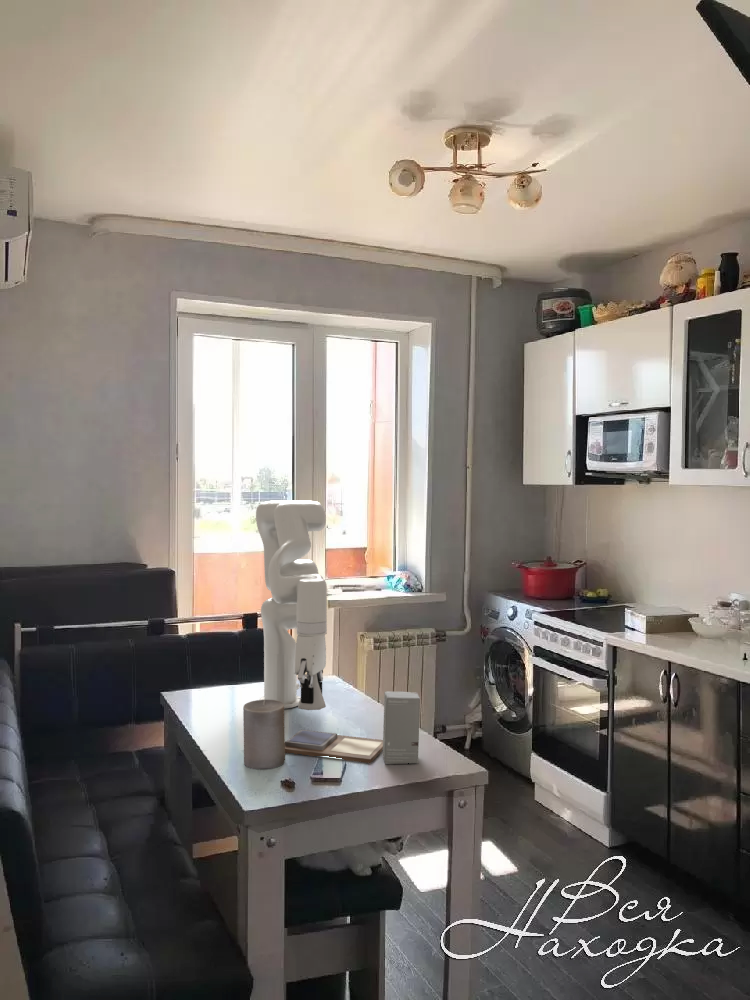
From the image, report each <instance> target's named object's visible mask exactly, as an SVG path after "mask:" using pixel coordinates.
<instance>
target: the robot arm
mask: <svg viewBox="0 0 750 1000" xmlns="http://www.w3.org/2000/svg"><path fill="white" fill-rule="evenodd" d="M326 521H327V517H326V512H325V509H324V507H323V505H322V504H321V503H320V502H319V501H314V500H270V501H269V500H268V501H264V502H261V503H259V504H258V506H257V507H256V510H255V523H256V527H257V531H258V533H259V536H260V538H261V541H262V546H263V559H264V560H263V561H264V562H263V564H264V582H265V587H266V588H267V590H268V591H270V594H271V598H266V600H264V602H262V604H261V607H260V617H261V622H262V629H263V630H262V631H263V652H264V653H263V656H264V657H263V663H264V664H263V667H264V668H263V680H264V682H263V685H264V687H263V688H264V689H263V694H264V695H263V696H262V697H259V699H258V700H276V701H280V702H282V703H283V704H284V710H285V709H291V708H296V707H298V704H299V701H300V698H301V703H307V704H313V702H314V687H312V683H313V675H315V674H316V673H317V679H318V684H319V687H320V690H321V693H322V694H323V679H324V677H323V673H324V669H326V665H327V648H326V647H327V645H326V643H327V642H326V635H327V633H328V632H327V630H328V629H327V627H328V626H327V625H328V624H327V623H328V622H327V620H328V619H327V618H328V615H327V613H328V612H327V610H328V603H327V600H328V599H327V598H328V597H327V596H328V594H327V592H328V591H327V590H328V589H327V585H328V583H327V582H326V580H325V579H324V577H323V576H322V575H320V574H319V569H318V566H317V564H316V562H315V561H313V560H311V559H306V558H305V559H302V558H304V557H305V556H306V555H308V553H310V550H311V549H312V548H311V547H312V543H311V538H310V535H309V532H320V531H321V532H322V530H323V529H324V528H325V526H326ZM293 629H294V630H295V629H296V635H297V636H296V640H295V639H294V637H293V636H292V635H291V634H290V633H289V630H293ZM307 672H309V675H307ZM306 677H309V681H308V679H306ZM297 680H298V681H299V683H298V682H297ZM299 689H300V696H299V695H297V693H298V692H297V690H299Z"/></svg>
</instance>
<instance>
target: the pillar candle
mask: <svg viewBox="0 0 750 1000" xmlns="http://www.w3.org/2000/svg"><path fill="white" fill-rule="evenodd" d="M242 713H243V714H242V715H243V763H244V765H246V766H245V767H246V768H249V767H250V768H249V769H253V770H268V769H275V768H278V767H280V765H281V766H282V765H284V763H285V761H286V753H285V741H286V739H285V738H286V737H285V733H286V731H285V728H286V727H285V709H284V704H283V703H282V702H280V701H276V700H259V699H257V700H251V701H249V702H247V703H245V704H243V711H242Z"/></svg>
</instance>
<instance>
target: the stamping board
mask: <svg viewBox="0 0 750 1000" xmlns="http://www.w3.org/2000/svg"><path fill="white" fill-rule="evenodd" d="M382 750H383V739H377V738H369V737H360V736H352V735H343V734H338V733H335V732H334V733H333V732H326V731H316V730H308V729H307V730H306V729H300V730H299V731H297V732H295V734H293V735H292V736H291V737H289V738H288V739H286V740H285V754H290V753H294V754H293V755H298V754H302V755H301V756H306V755H309V756H308V757H314V756H329V757H336V758H342V759H344V760H343V761H347V762H354V763H355V762H356V763H364V764H372V762H374V761H375V759H376V758H377V757H378V756H379V755H380V754H381V753H383V751H382Z"/></svg>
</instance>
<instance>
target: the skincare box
mask: <svg viewBox="0 0 750 1000" xmlns="http://www.w3.org/2000/svg"><path fill="white" fill-rule="evenodd" d="M383 694H384V695H383V696H384V697H383V699H384V700H383V701H384V703H383V704H384V705H383V731H382V732H383V733H382V740H383V751H382V757H383V761H384V763H385V765H401V764H404V765H405V764H407V765H409V764H419V749H420V748H419V745H420V744H419V742H420V713H421V712H420V708H421V703H420V702H421V698H420V695H419V693H418V692H415V691H414V692H413V691H411V692H410V691H384V692H383ZM408 763H409V764H408Z"/></svg>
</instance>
